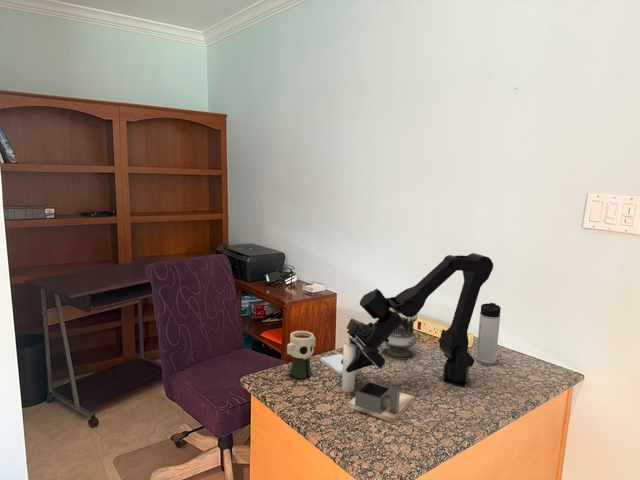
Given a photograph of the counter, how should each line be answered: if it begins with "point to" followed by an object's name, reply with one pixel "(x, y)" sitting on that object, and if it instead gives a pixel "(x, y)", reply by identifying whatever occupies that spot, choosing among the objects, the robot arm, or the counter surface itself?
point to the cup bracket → (377, 397)
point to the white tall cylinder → (348, 357)
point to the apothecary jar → (401, 340)
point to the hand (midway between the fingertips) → (344, 367)
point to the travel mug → (488, 334)
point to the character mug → (301, 352)
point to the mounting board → (386, 415)
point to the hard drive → (335, 363)
